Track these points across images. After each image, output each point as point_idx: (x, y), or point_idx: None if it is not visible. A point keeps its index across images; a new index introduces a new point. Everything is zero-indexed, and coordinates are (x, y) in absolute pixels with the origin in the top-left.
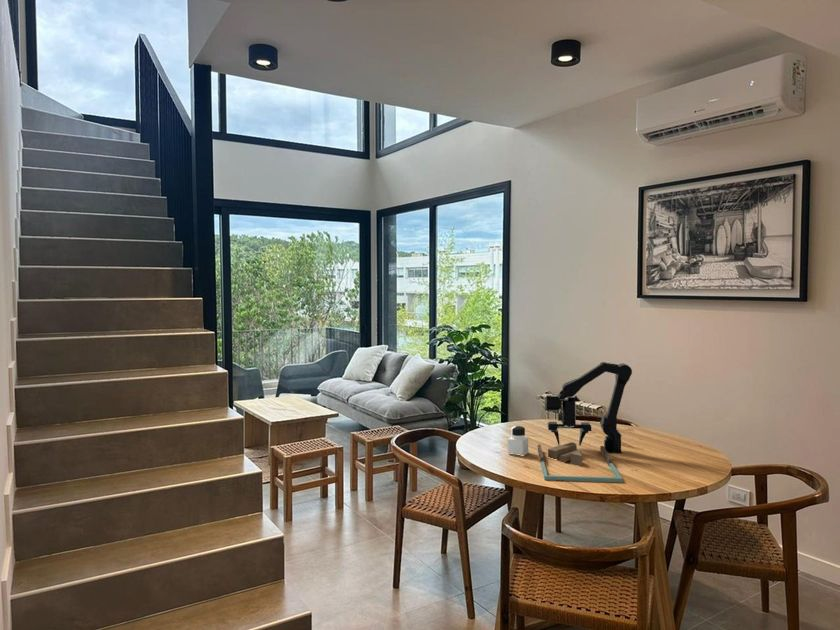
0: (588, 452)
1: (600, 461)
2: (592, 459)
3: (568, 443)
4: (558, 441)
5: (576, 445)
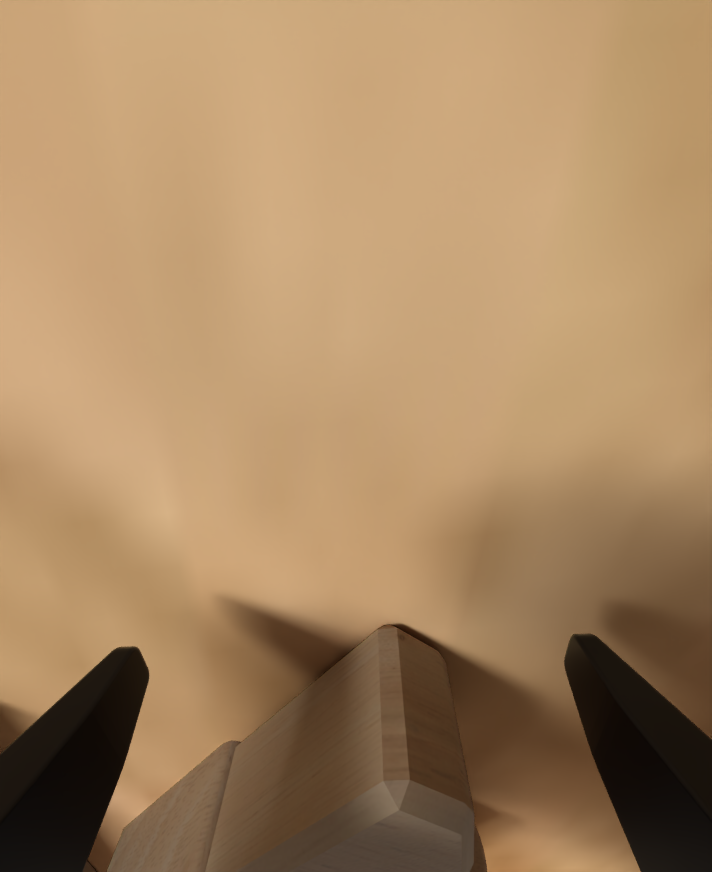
0: (634, 659)
1: (624, 854)
2: (569, 828)
3: (324, 860)
4: (90, 799)
5: (467, 866)
